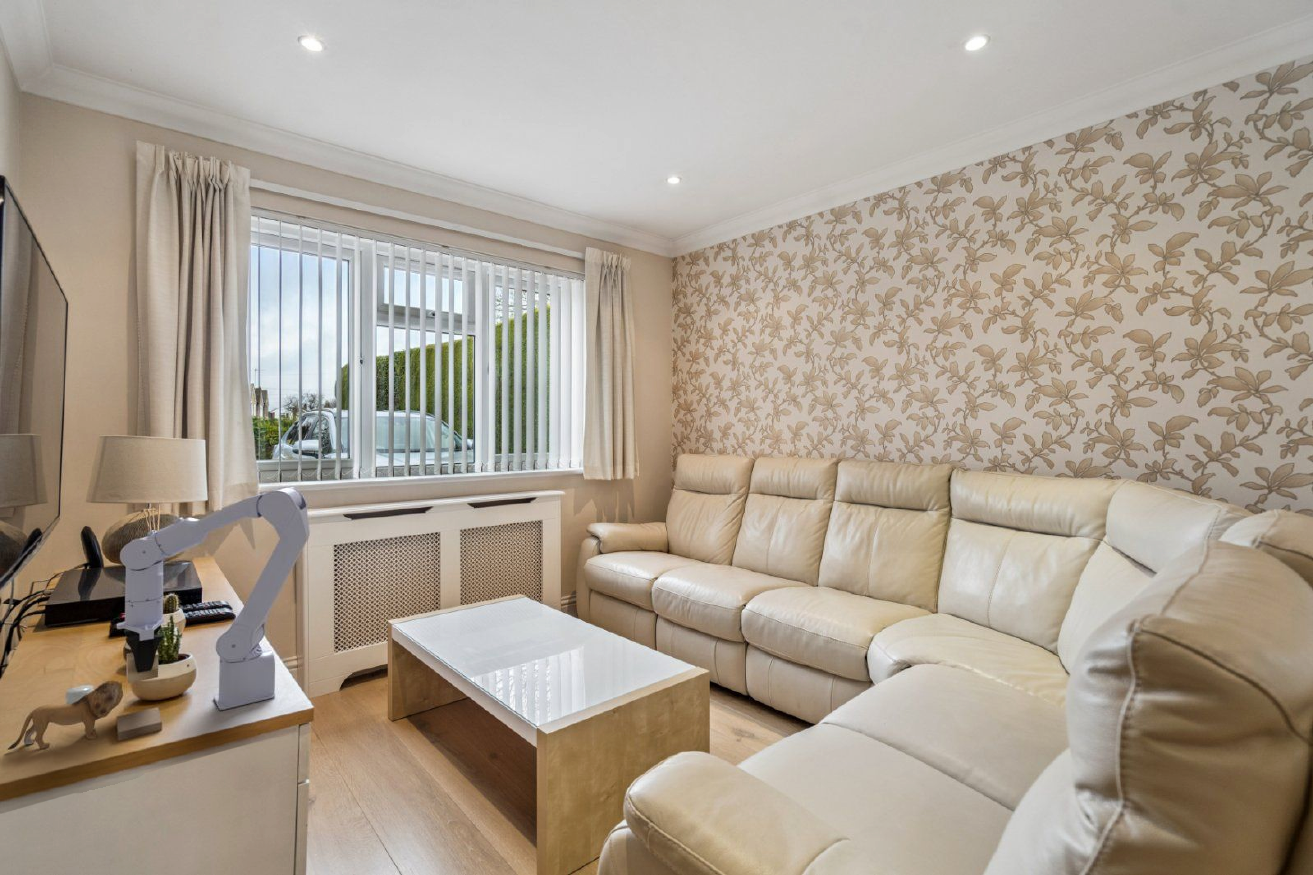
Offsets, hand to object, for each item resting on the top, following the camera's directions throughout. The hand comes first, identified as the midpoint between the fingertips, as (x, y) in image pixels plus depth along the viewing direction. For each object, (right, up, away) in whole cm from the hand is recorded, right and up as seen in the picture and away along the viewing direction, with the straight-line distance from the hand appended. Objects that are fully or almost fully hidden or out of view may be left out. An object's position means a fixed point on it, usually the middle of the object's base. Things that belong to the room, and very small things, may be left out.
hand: (143, 667), depth 120 cm
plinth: (+5, -8, -7) cm, 12 cm away
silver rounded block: (-14, -8, +2) cm, 16 cm away
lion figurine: (-3, -9, -12) cm, 15 cm away
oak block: (0, -2, 0) cm, 2 cm away
